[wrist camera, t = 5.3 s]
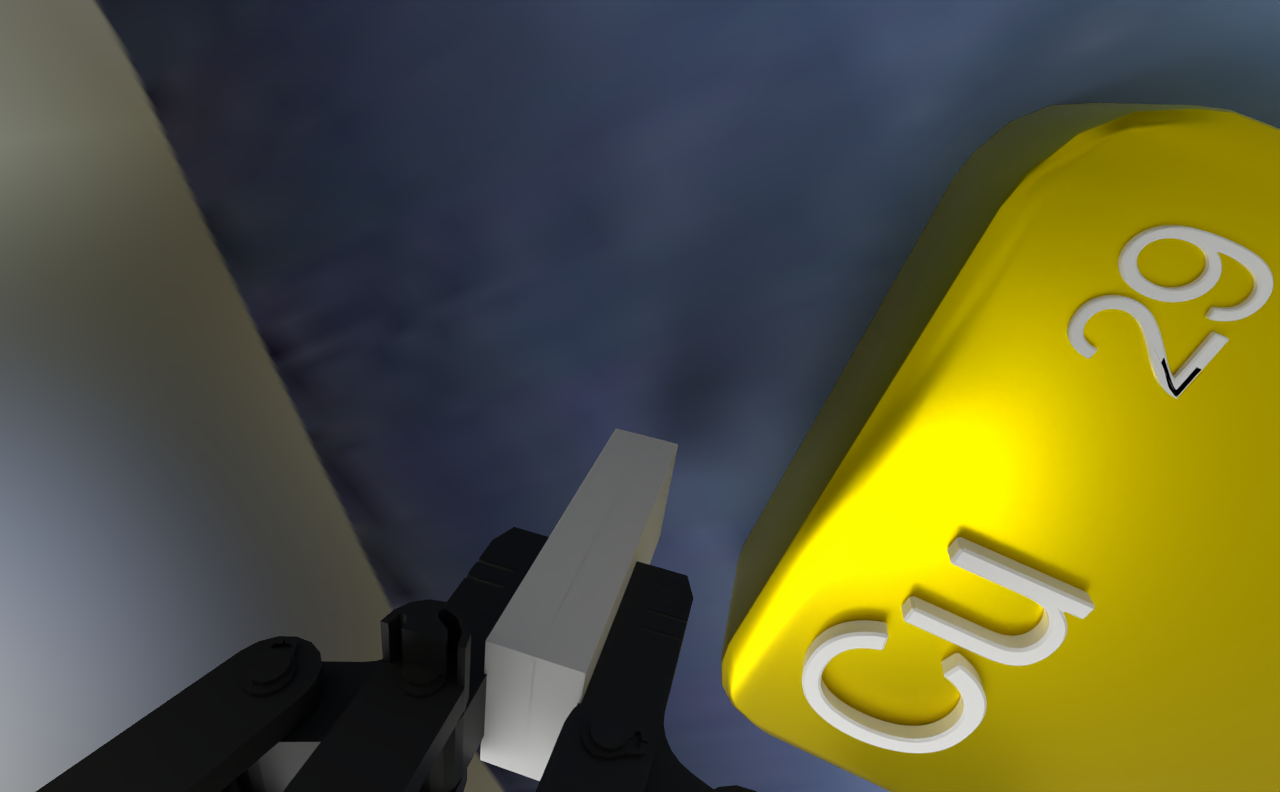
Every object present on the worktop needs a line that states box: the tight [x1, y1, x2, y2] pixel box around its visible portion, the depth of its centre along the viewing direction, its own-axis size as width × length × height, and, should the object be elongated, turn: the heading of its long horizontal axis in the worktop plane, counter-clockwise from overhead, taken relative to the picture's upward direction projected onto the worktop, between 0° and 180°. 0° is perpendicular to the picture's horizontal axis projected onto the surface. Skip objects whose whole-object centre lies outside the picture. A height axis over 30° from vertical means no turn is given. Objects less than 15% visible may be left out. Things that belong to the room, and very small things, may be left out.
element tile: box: [721, 103, 1280, 792], centre depth 13 cm, size 15×15×5 cm
